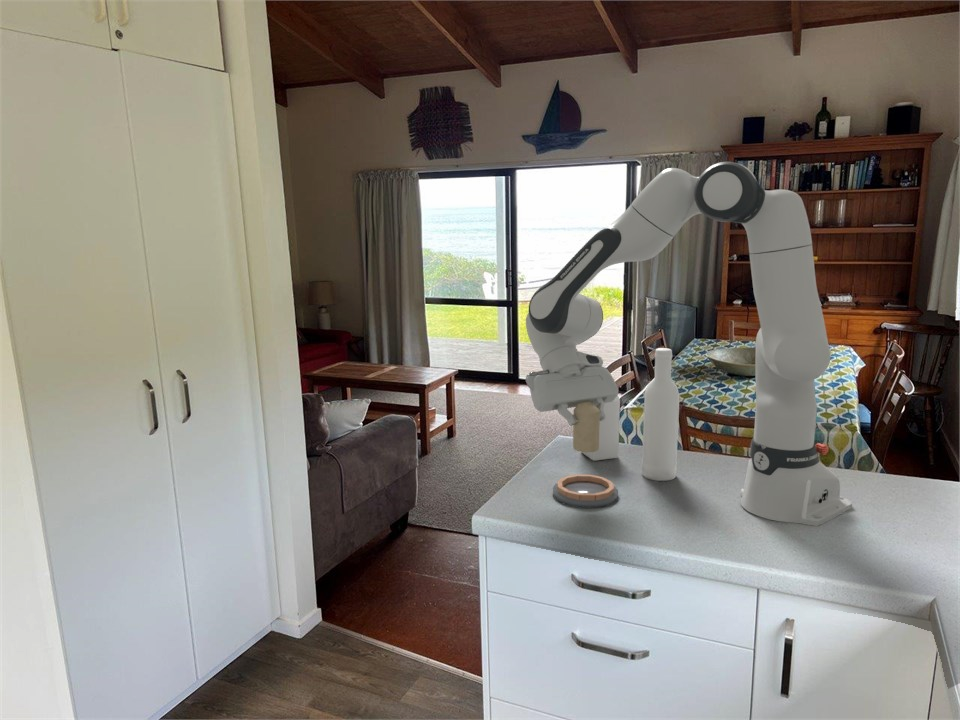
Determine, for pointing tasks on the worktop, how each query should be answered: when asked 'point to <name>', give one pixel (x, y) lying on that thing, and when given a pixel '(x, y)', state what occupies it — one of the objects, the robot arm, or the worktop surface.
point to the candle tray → (585, 491)
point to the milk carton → (608, 433)
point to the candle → (586, 428)
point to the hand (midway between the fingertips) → (588, 421)
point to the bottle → (661, 421)
